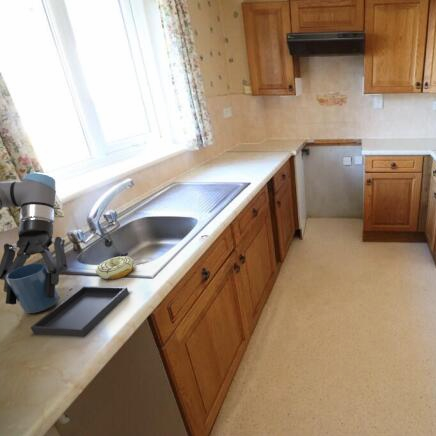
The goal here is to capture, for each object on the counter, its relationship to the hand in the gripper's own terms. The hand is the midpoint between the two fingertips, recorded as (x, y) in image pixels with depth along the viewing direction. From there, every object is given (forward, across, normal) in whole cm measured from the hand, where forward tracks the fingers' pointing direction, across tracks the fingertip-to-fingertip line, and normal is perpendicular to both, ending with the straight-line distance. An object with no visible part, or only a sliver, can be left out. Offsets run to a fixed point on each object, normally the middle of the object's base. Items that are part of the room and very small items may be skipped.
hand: (30, 300), depth 87 cm
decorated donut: (-8, -16, -15) cm, 23 cm away
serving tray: (+6, -13, -1) cm, 14 cm away
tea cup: (0, 0, -5) cm, 5 cm away
